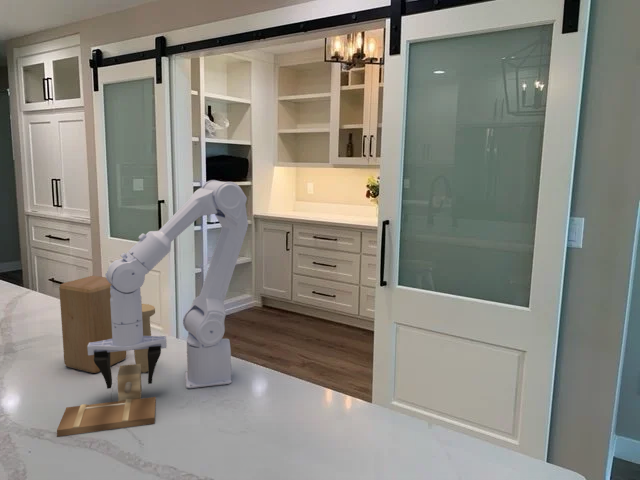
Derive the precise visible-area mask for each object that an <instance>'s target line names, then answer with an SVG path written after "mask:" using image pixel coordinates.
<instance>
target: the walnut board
mask: <svg viewBox="0 0 640 480" xmlns="http://www.w3.org/2000/svg"><path fill="white" fill-rule="evenodd" d="M156 397H157V396H150V397H142V398H141V399H133V400H131V399H126V400H125V401H119V400H118V401H109V402H108V401H107V402H101V403H93V404H87V403H85V404H83V403H82V404H80V405H75V406H67V407H66V408H65V410H64V412H63V415H62V416H61V419H60V422H59V424H58V427H57V429H56V437H63V436H65V437H66V436H70V435H71V436H72V435H79V434H85V433H86V434H88V433H94V432H101V431H109V430H116V429H123V428H124V429H125V428H130V427H132V428H133V427H139V426H147V425H154V424H155V423H156V420H155V419H156V409H157V408H156V406H157V398H156Z"/></svg>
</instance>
